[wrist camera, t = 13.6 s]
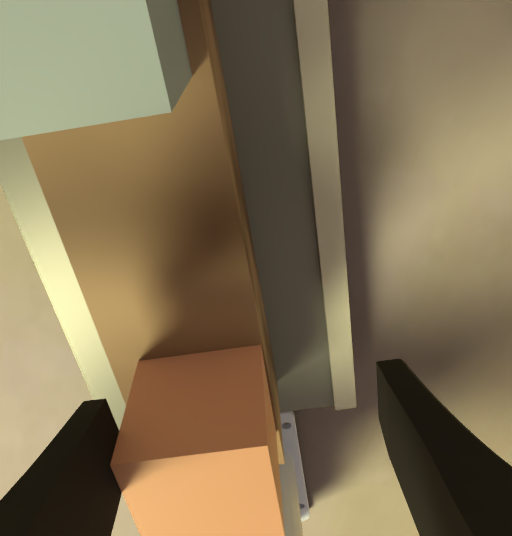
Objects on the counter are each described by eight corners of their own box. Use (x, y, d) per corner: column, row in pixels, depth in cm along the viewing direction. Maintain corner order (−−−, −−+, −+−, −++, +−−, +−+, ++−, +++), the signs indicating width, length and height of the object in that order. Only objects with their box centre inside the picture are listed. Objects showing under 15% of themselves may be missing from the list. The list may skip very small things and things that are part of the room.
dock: (345, 367, 25) (356, 407, 23) (119, 398, 26) (107, 440, 24) (291, -289, 14) (302, -349, 11) (-118, -204, 14) (-193, -244, 12)
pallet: (277, 381, 22) (284, 464, 18) (169, 395, 23) (155, 480, 19) (175, -199, 13) (145, -285, 9) (-11, -162, 13) (-122, -230, 9)
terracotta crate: (276, 431, 18) (285, 540, 14) (166, 445, 18) (149, 556, 14) (261, 344, 16) (267, 445, 12) (138, 360, 16) (110, 465, 12)
